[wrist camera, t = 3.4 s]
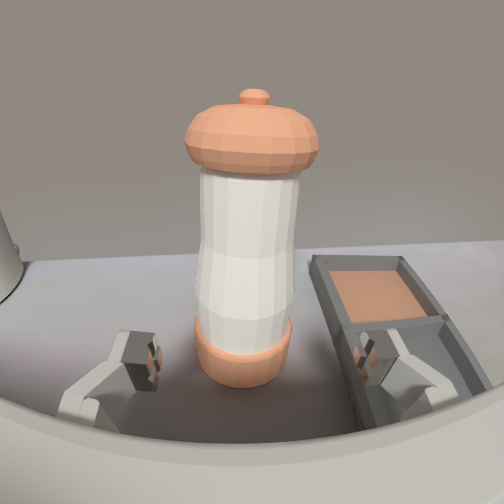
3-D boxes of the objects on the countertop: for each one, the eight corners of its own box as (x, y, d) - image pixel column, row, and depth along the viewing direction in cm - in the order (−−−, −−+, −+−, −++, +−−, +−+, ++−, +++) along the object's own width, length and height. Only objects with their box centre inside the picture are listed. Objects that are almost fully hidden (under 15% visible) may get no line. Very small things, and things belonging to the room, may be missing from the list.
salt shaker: (255, 312, 27) (271, 92, 17) (304, 364, 22) (356, 101, 12) (184, 338, 24) (165, 90, 14) (223, 403, 18) (222, 84, 9)
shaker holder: (370, 470, 14) (386, 458, 12) (309, 273, 33) (312, 254, 32) (486, 424, 14) (504, 407, 13) (396, 272, 34) (402, 256, 33)
